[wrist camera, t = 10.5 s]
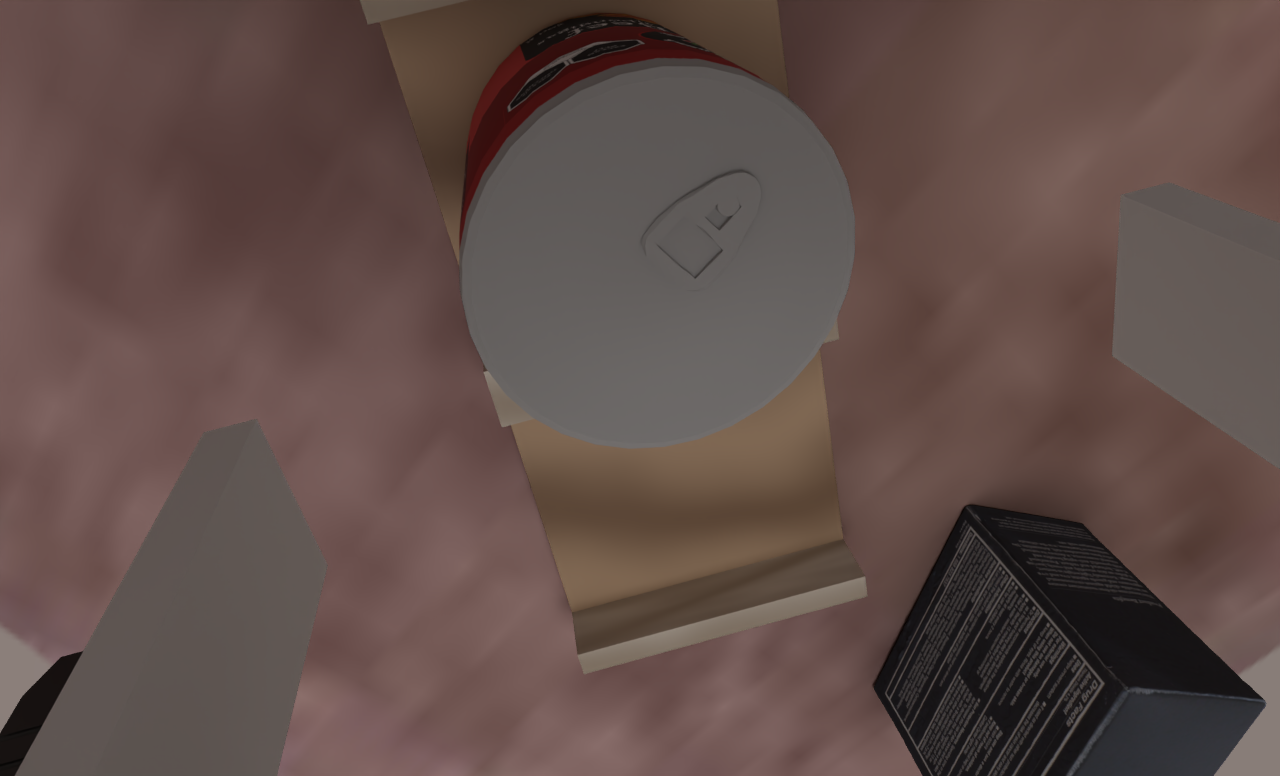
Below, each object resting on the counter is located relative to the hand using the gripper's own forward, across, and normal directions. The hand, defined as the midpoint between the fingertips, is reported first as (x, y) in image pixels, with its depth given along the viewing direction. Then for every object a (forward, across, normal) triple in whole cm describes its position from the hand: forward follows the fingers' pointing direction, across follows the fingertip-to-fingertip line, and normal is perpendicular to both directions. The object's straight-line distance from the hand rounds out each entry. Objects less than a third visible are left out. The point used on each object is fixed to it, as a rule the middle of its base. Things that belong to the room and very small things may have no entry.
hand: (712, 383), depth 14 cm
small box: (+17, +12, -24) cm, 32 cm away
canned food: (+15, 0, 0) cm, 15 cm away
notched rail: (+16, +1, -6) cm, 17 cm away
